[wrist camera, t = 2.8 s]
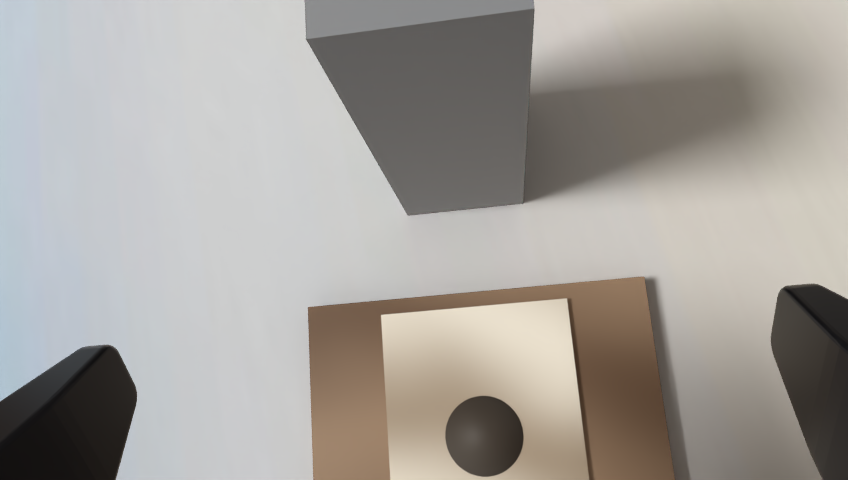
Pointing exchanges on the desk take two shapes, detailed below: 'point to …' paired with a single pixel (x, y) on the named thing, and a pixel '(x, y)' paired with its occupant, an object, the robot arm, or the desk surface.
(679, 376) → the desk surface
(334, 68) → the leg
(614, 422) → the board
